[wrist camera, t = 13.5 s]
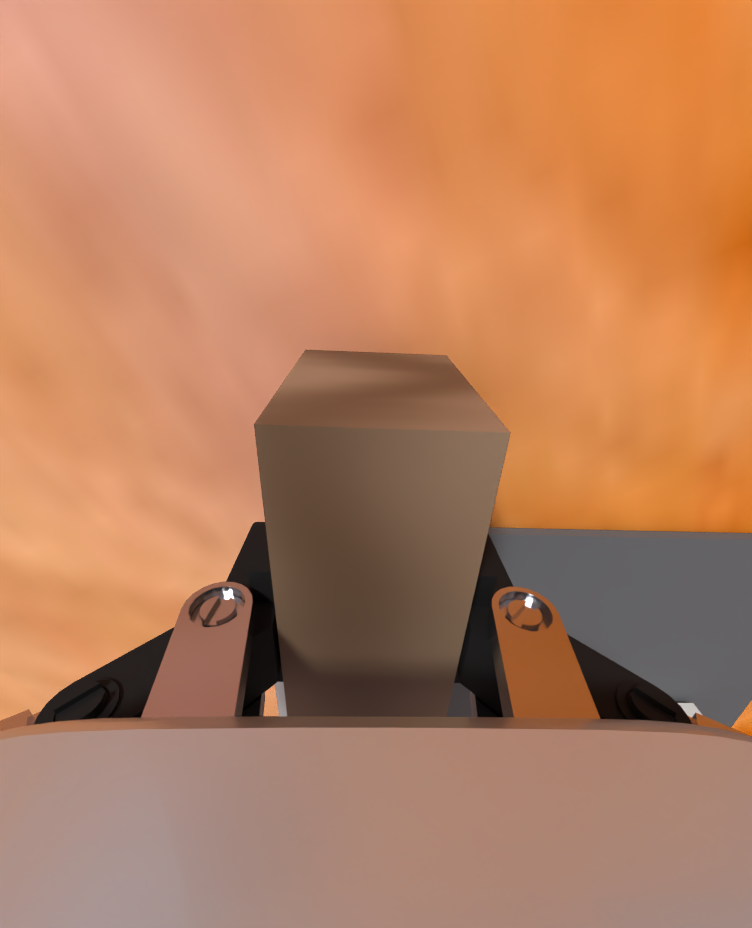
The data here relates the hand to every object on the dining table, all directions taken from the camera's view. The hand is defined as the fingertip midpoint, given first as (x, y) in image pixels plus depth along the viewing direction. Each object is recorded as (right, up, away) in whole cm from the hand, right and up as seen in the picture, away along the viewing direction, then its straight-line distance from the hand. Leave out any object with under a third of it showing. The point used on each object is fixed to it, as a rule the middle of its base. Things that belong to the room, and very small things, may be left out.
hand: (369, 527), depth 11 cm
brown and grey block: (0, -3, +2) cm, 4 cm away
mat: (+10, -8, +6) cm, 14 cm away
